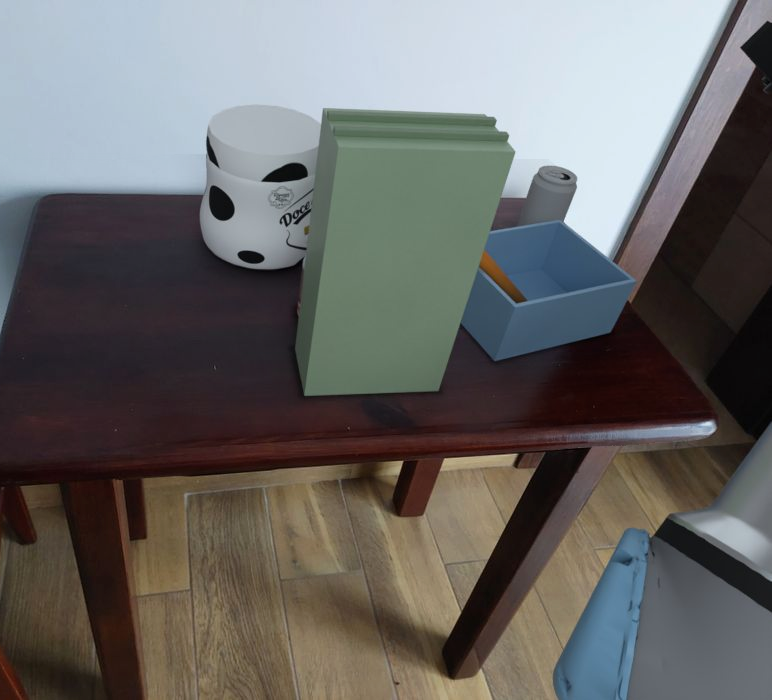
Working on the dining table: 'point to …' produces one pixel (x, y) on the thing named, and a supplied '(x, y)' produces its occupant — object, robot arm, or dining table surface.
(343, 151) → the stand
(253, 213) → the doce de leite jar
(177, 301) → the dining table surface
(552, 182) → the beverage can
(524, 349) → the bin
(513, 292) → the orange round-ended rod
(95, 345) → the dining table surface
